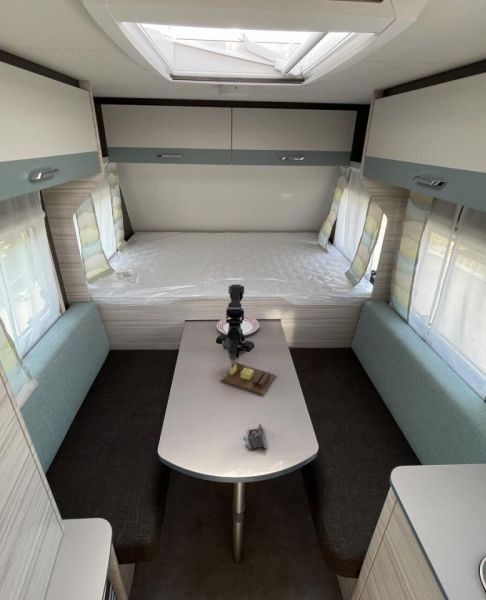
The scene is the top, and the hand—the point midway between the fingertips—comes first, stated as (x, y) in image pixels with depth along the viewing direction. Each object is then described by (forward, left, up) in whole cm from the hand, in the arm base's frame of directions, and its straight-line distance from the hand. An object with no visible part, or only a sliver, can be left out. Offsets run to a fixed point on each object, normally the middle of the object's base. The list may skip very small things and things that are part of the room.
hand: (234, 357), depth 163 cm
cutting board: (+8, 0, -11) cm, 13 cm away
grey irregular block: (+27, -33, -11) cm, 44 cm away
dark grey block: (0, 0, -4) cm, 4 cm away
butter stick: (+7, 0, -9) cm, 12 cm away
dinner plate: (-22, +44, -11) cm, 50 cm away
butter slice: (-1, 0, -9) cm, 9 cm away
